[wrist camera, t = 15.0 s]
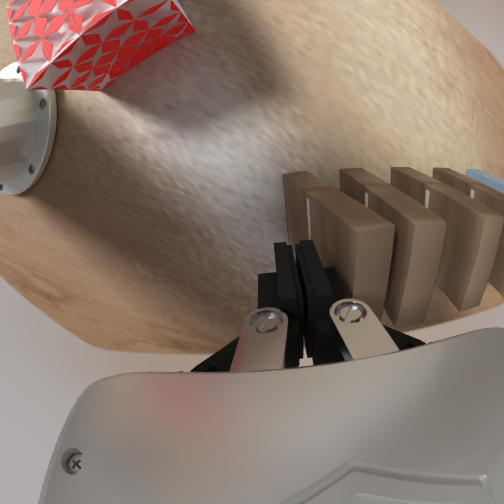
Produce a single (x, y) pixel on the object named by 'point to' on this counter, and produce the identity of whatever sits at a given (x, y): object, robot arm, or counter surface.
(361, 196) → the domino
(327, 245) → the domino
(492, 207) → the domino
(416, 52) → the counter surface
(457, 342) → the robot arm
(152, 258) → the counter surface
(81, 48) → the red patterned cube
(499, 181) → the domino
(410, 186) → the domino
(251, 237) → the counter surface
